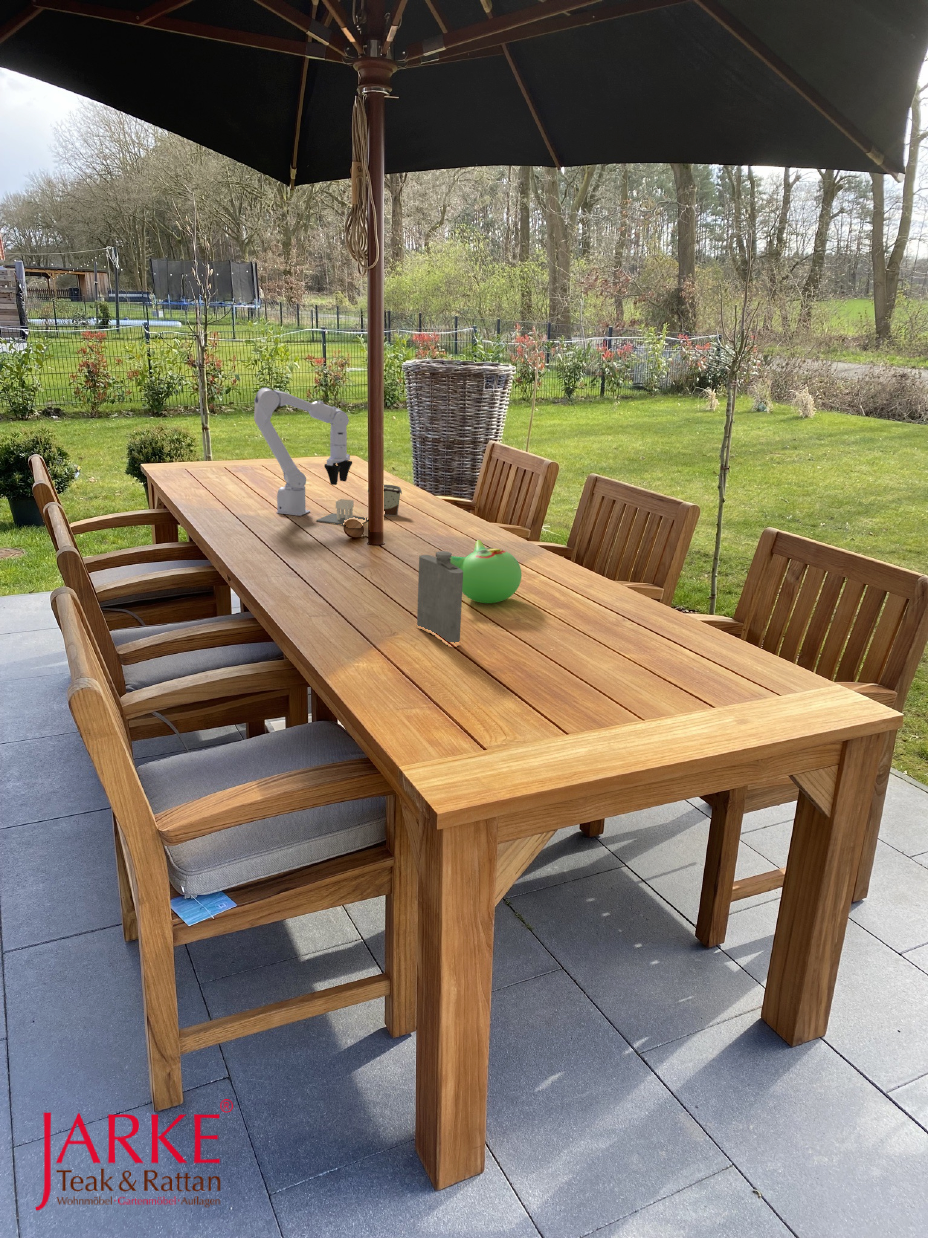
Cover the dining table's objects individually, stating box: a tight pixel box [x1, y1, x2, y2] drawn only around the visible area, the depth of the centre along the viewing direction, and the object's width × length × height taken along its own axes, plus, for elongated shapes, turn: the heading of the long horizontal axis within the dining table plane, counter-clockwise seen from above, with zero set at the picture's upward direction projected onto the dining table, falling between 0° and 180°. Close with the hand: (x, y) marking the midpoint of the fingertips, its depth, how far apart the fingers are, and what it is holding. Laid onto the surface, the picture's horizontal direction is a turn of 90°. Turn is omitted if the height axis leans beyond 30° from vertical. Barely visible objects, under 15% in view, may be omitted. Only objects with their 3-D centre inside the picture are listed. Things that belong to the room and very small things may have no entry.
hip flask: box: [416, 550, 463, 643], centre depth 204 cm, size 16×4×20 cm, turn 33°
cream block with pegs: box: [335, 498, 355, 520], centre depth 308 cm, size 5×5×6 cm
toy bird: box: [450, 539, 522, 604], centre depth 231 cm, size 18×17×15 cm
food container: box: [367, 484, 403, 517], centre depth 322 cm, size 12×6×10 cm, turn 84°
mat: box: [315, 512, 368, 526], centre depth 310 cm, size 15×12×1 cm
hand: (338, 482), depth 319 cm, fingers open, 7 cm apart
